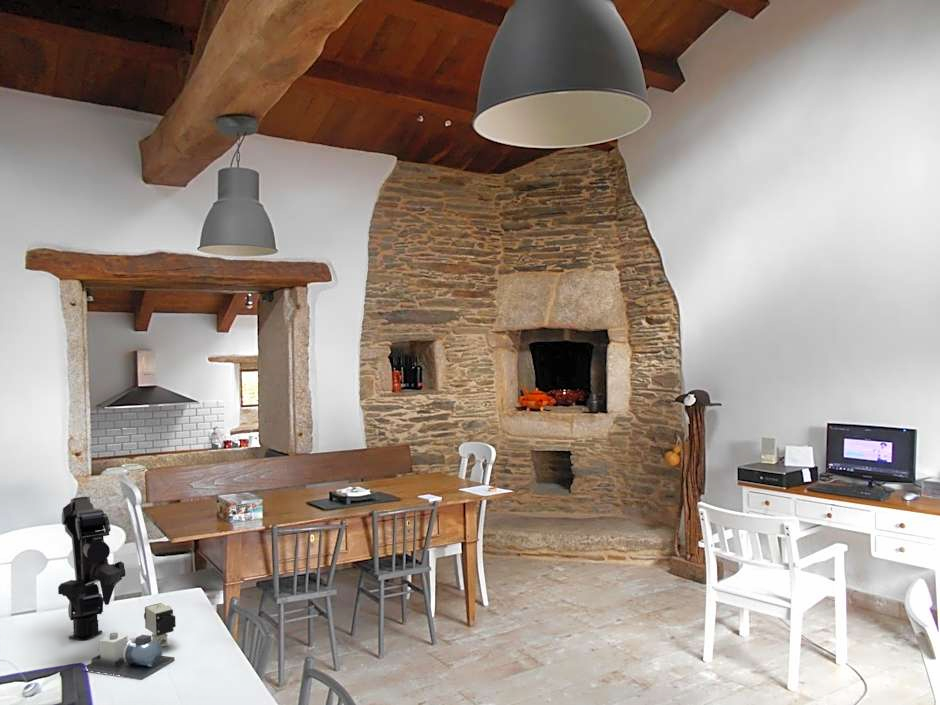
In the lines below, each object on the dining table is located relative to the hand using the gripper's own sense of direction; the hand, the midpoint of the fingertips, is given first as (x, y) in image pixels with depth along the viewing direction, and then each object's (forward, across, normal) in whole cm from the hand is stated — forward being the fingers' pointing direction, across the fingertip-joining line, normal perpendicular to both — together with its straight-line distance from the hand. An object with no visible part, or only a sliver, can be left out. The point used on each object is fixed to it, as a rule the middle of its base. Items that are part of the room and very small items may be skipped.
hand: (93, 610), depth 209 cm
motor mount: (+12, -5, -17) cm, 21 cm away
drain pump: (+11, -5, -12) cm, 17 cm away
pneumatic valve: (+12, +9, -15) cm, 22 cm away
